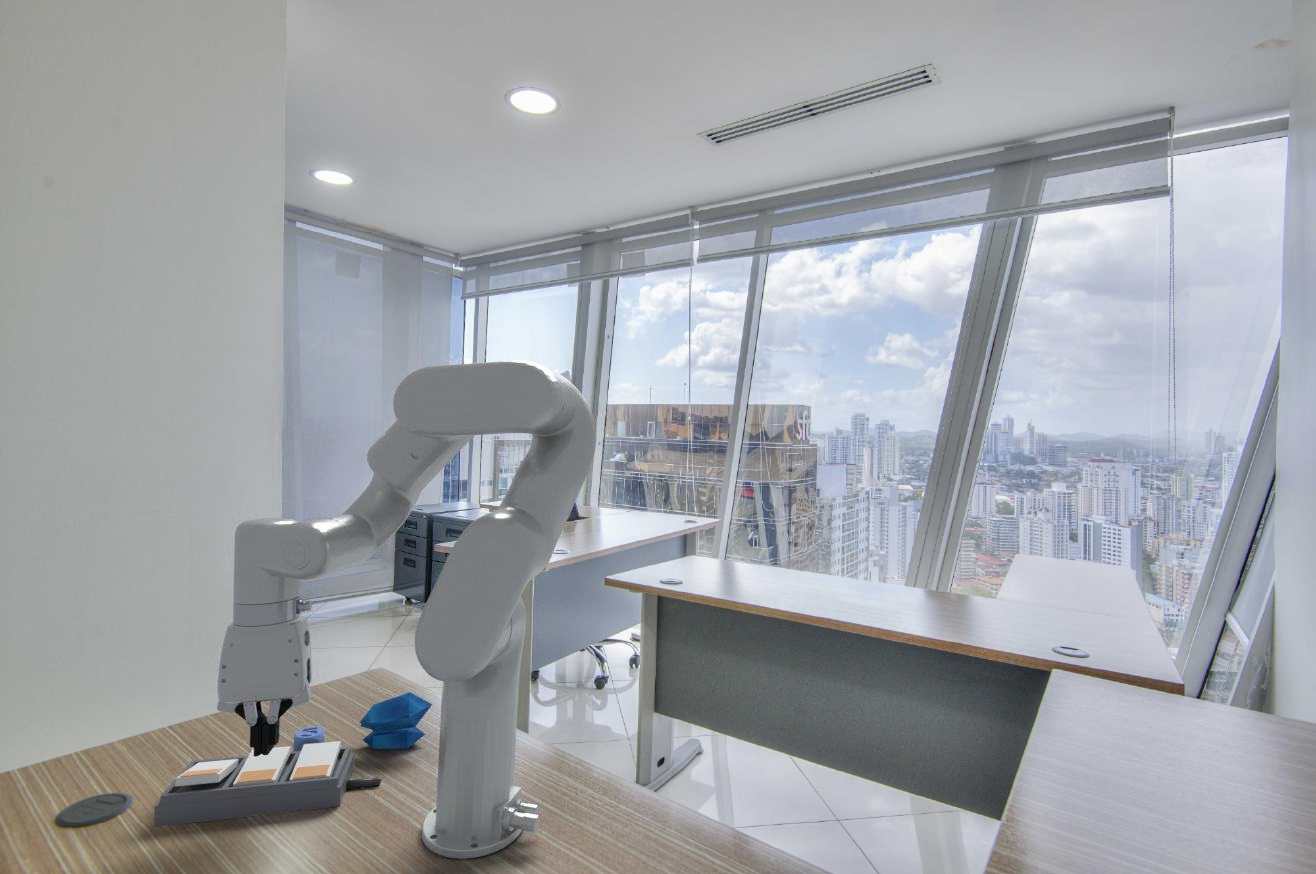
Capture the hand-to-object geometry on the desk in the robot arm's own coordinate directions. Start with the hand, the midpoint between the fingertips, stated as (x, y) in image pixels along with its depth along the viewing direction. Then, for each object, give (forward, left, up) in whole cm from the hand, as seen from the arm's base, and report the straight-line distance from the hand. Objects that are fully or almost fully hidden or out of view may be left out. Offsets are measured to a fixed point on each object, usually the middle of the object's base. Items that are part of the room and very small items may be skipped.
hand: (264, 750), depth 81 cm
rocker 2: (-3, -5, -4) cm, 8 cm away
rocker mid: (+2, -2, -4) cm, 5 cm away
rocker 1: (+8, +1, -4) cm, 9 cm away
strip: (0, -3, -8) cm, 8 cm away
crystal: (-6, -20, -8) cm, 22 cm away
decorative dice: (+4, -13, -8) cm, 15 cm away
